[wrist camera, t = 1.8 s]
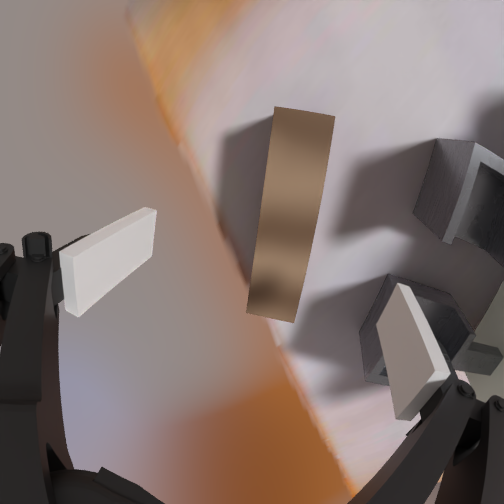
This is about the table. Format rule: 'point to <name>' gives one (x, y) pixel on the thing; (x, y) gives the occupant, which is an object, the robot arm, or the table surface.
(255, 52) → the table surface
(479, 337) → the backboard
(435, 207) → the brackets
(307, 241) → the rail
